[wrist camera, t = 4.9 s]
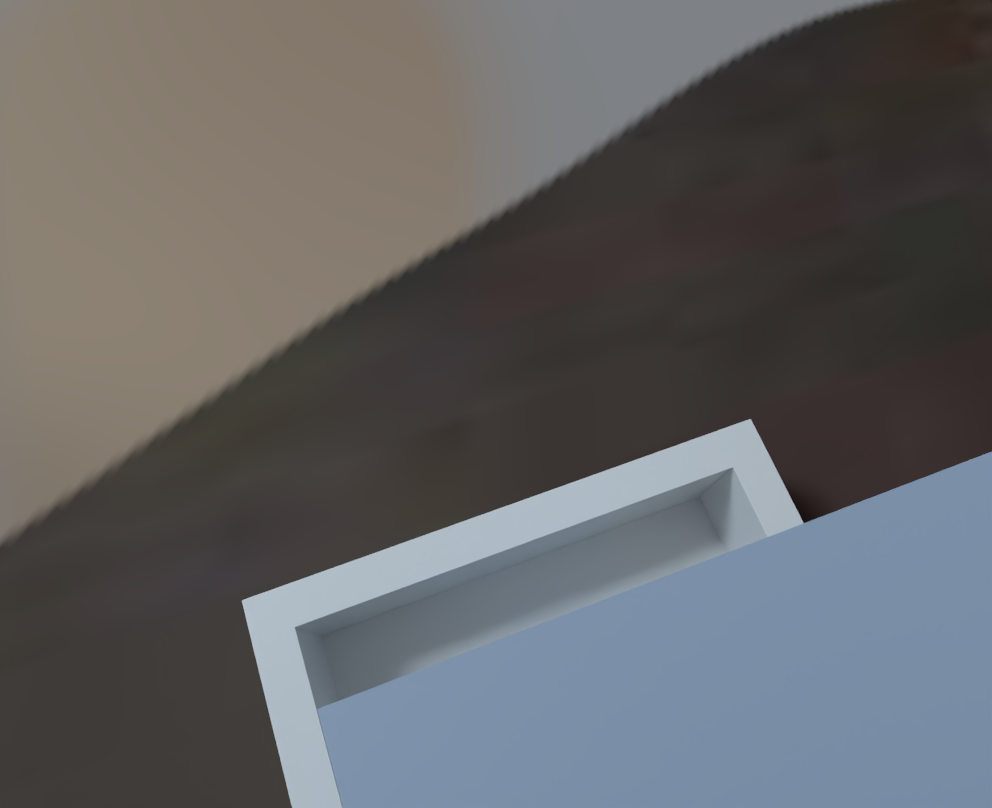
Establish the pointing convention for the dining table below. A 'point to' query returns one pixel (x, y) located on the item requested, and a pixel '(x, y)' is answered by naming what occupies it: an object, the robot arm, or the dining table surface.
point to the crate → (500, 581)
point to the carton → (721, 681)
